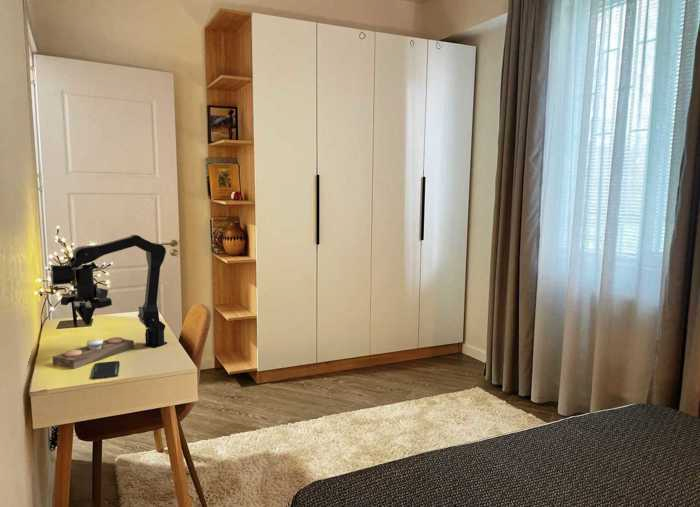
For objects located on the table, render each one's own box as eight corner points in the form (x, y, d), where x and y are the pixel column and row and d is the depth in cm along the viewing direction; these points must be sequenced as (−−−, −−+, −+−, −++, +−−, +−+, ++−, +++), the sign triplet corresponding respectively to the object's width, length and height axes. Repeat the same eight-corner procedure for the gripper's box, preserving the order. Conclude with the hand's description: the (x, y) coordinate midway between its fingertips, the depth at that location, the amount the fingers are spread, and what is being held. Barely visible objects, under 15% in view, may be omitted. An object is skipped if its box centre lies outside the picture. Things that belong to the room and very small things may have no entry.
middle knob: (106, 350, 190) (106, 340, 190) (94, 354, 185) (94, 344, 185) (96, 348, 192) (95, 338, 192) (84, 352, 187) (83, 342, 187)
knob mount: (133, 348, 199) (133, 340, 199) (74, 368, 175) (73, 360, 175) (114, 345, 203) (113, 337, 202) (53, 364, 179) (52, 356, 179)
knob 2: (126, 347, 199) (125, 338, 198) (115, 351, 194) (114, 341, 193) (115, 346, 201) (115, 336, 200) (104, 349, 196) (104, 340, 195)
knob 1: (85, 361, 182) (85, 351, 182) (72, 366, 177) (72, 355, 177) (75, 359, 184) (74, 349, 184) (61, 364, 179) (61, 353, 179)
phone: (119, 360, 182) (118, 374, 168) (119, 363, 182) (118, 377, 168) (94, 363, 179) (90, 377, 165) (94, 366, 179) (90, 380, 165)
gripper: (122, 279, 191) (124, 321, 193) (84, 276, 198) (86, 317, 200) (97, 285, 181) (100, 329, 183) (58, 281, 187) (61, 324, 189)
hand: (87, 324), depth 189 cm, fingers closed
